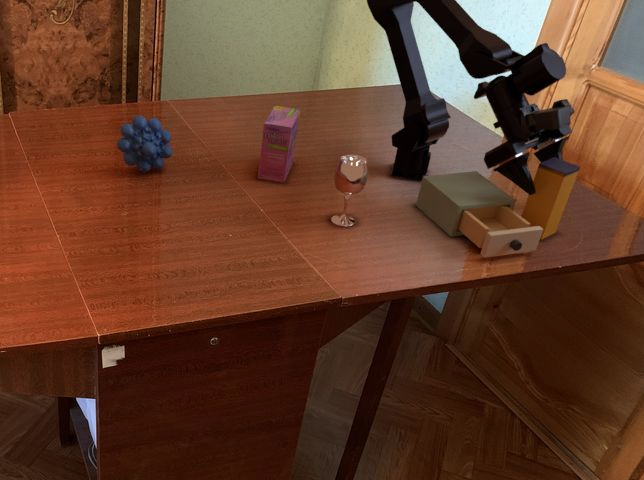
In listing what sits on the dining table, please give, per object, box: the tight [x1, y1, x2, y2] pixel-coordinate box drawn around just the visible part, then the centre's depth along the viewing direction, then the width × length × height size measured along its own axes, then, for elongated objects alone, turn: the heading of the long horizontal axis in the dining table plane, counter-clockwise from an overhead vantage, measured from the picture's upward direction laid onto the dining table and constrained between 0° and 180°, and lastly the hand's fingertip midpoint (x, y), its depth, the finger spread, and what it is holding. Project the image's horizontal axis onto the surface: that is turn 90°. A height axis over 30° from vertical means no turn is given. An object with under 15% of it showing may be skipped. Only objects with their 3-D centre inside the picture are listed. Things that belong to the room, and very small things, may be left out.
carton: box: [520, 157, 581, 241], centre depth 136 cm, size 5×5×13 cm
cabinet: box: [415, 170, 516, 238], centre depth 141 cm, size 13×12×6 cm
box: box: [257, 105, 301, 184], centre depth 154 cm, size 10×6×12 cm, turn 163°
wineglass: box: [330, 154, 369, 227], centre depth 137 cm, size 6×6×12 cm
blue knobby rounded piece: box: [116, 114, 173, 173], centre depth 151 cm, size 12×7×12 cm, turn 110°
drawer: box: [457, 205, 543, 258], centre depth 134 cm, size 13×10×4 cm
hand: (547, 187), depth 135 cm, fingers open, 9 cm apart
